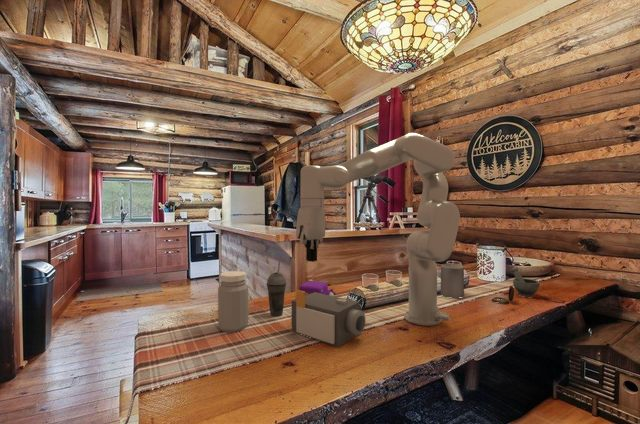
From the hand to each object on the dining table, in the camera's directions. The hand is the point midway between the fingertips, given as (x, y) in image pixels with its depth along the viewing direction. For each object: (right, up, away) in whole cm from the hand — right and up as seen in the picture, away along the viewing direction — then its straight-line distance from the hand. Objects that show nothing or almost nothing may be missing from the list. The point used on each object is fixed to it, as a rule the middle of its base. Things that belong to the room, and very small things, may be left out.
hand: (311, 260), depth 98 cm
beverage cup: (-13, -23, +15) cm, 30 cm away
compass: (+79, -23, +29) cm, 87 cm away
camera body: (+6, -23, -3) cm, 24 cm away
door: (+1, -22, -8) cm, 23 cm away
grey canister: (+62, -22, +38) cm, 77 cm away
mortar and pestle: (+95, -22, +39) cm, 105 cm away
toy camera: (+2, -23, +23) cm, 32 cm away
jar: (-26, -23, +3) cm, 35 cm away
